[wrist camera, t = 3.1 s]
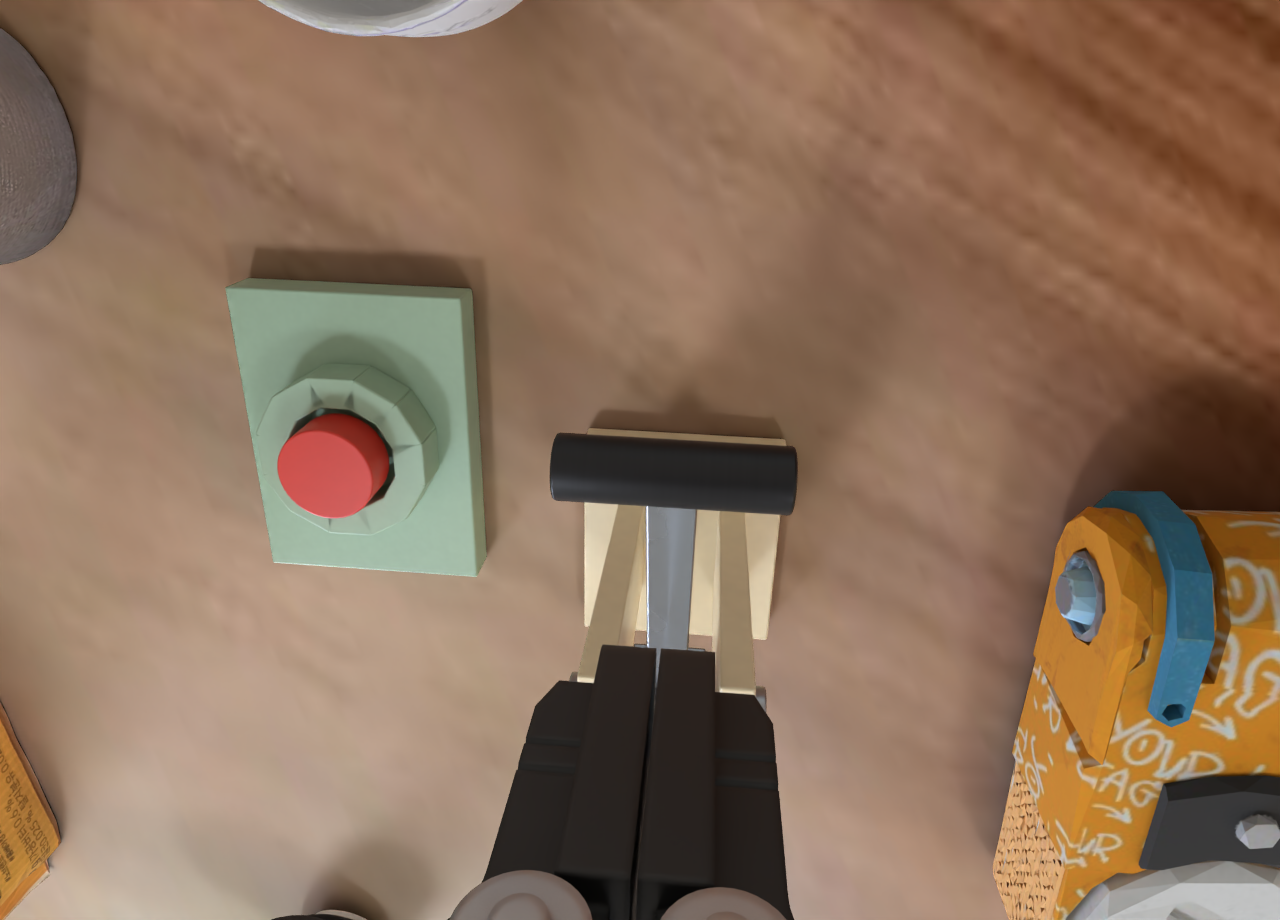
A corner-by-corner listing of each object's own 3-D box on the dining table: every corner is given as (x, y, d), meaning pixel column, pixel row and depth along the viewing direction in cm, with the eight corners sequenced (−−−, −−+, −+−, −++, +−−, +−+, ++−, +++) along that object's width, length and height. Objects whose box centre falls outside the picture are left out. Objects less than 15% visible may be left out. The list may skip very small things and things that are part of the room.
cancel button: (291, 409, 32) (269, 426, 30) (385, 415, 31) (367, 432, 30) (304, 495, 33) (284, 516, 32) (394, 501, 33) (377, 522, 31)
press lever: (561, 402, 18) (542, 489, 16) (795, 415, 18) (799, 505, 16) (593, 680, 28) (583, 751, 26) (744, 692, 28) (743, 765, 26)
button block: (246, 277, 33) (196, 298, 30) (472, 288, 32) (445, 310, 29) (290, 543, 38) (251, 585, 35) (487, 557, 37) (465, 601, 34)
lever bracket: (588, 427, 34) (521, 603, 23) (785, 438, 34) (820, 624, 22) (587, 611, 38) (530, 844, 26) (765, 624, 38) (787, 867, 26)
